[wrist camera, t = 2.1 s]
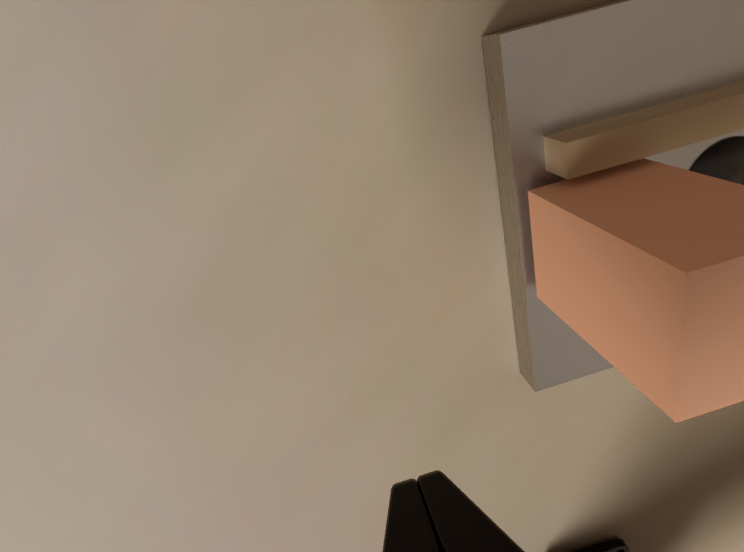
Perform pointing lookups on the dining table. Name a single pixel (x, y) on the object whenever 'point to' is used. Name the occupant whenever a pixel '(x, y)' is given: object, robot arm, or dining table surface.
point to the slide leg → (649, 277)
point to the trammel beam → (645, 132)
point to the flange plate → (592, 104)
